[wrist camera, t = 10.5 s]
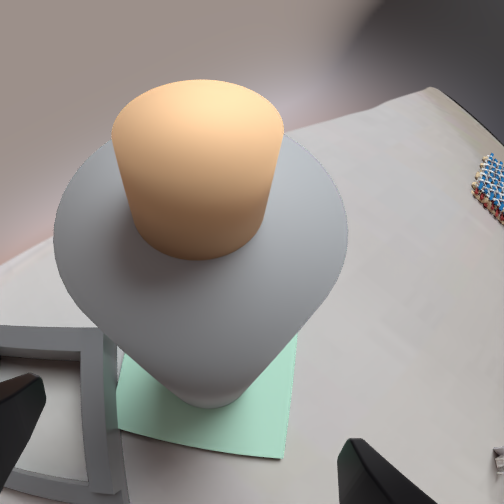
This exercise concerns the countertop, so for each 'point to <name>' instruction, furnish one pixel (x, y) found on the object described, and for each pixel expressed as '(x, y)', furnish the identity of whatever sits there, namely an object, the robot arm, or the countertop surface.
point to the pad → (211, 411)
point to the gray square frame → (92, 407)
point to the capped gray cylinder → (200, 237)
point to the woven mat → (491, 186)
